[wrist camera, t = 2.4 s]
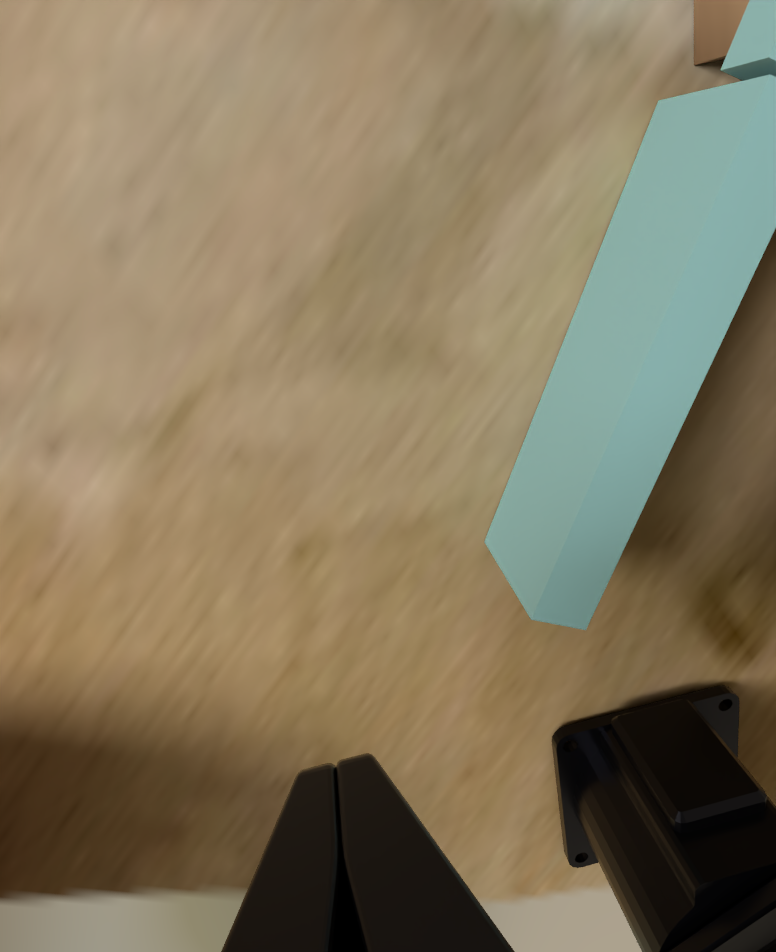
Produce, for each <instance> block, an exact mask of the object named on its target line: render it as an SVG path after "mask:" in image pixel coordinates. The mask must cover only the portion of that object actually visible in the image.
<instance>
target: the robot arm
mask: <svg viewBox="0 0 776 952" xmlns="http://www.w3.org/2000/svg"><path fill="white" fill-rule="evenodd" d="M738 727H739V698H738V696H737V695H736V694H735V693H734V692H733V691H732V690H731V689H730V688H729V687H728V686H724V685H722V686H716V687H712V688H709V689H705V690H701V691H697V692H693V693H690V694H686V695H682V696H678V697H674V698H671V699H667V700H663V701H659V702H655V703H651V704H648V705H644V706H640V707H636V708H632V709H629V710H625V711H621V712H617V713H613V714H610V715H606V716H602V717H598V718H594V719H591V720H587V721H583V722H579V723H575V724H571V725H568V726H564V727H562V728H559V729H558V730H557V731H556V732H555V733H554V735H553V736H552V748H553V757H554V765H555V774H556V783H557V792H558V801H559V810H560V819H561V827H562V836H563V845H564V852H565V855H566V857H567V859H568V862H569V864H570V865H571V866H573V867H577V868H578V867H584V866H588V865H591V864H595V863H598V862H599V864H600V866H601V868H602V870H603V872H604V874H605V876H606V878H607V880H608V882H609V884H610V886H611V888H612V891H613V892H614V895H615V897H616V899H617V901H618V903H619V904H620V907H621V909H622V911H623V913H624V915H625V917H626V919H627V921H628V923H629V926H630V928H631V929H632V932H633V934H634V936H635V938H636V940H637V942H638V944H639V946H640V948H641V950H642V952H776V806H775V805H774V804H773V803H772V801H771V800H770V799H769V798H768V797H767V795H766V793H765V791H764V790H763V788H762V787H761V786H760V785H759V784H758V782H757V781H756V780H755V779H754V778H753V776H752V775H751V774H750V773H749V771H748V770H747V769H746V768H745V767H744V765H743V764H742V763H741V762H740V760H739V759H738V758H737V757H738ZM570 740H571V741H570ZM567 741H570V742H568V743H566V742H567ZM221 952H514V950H513V949H512V948H511V946H510V945H509V944H508V942H507V941H506V939H505V938H504V937H503V935H502V934H501V933H500V931H499V930H498V928H497V927H496V925H495V924H494V923H493V921H492V920H491V919H490V917H489V916H488V914H487V913H486V911H485V910H484V909H483V907H482V906H481V905H480V903H479V902H478V900H477V899H476V898H475V896H474V895H473V893H472V892H471V891H470V889H469V888H468V886H467V885H466V884H465V882H464V881H463V879H462V878H461V877H460V875H459V874H458V872H457V871H456V870H455V868H454V867H453V866H452V864H451V863H450V861H449V860H448V859H447V857H446V856H445V854H444V853H443V852H442V850H441V849H440V847H439V846H438V845H437V843H436V842H435V840H434V839H433V838H432V836H431V835H430V833H429V832H428V831H427V829H426V828H425V827H424V825H423V824H422V822H421V821H420V820H419V818H418V817H417V815H416V814H415V813H414V811H413V810H412V808H411V807H410V806H409V804H408V803H407V801H406V800H405V799H404V797H403V796H402V794H401V793H400V792H399V790H398V789H397V788H396V786H395V785H394V783H393V782H392V781H391V779H390V778H389V776H388V775H387V774H386V772H385V771H384V769H383V768H382V767H381V765H380V764H379V762H378V761H377V760H376V758H375V757H374V756H373V755H372V754H369V753H366V754H362V755H358V756H354V757H350V758H346V759H342V760H340V761H339V762H338V763H337V766H335V765H334V764H331V763H327V764H323V765H319V766H316V767H312V768H308V769H304V770H302V771H300V772H299V773H298V774H297V776H296V778H295V780H294V783H293V785H292V787H291V790H290V792H289V794H288V797H287V799H286V801H285V804H284V806H283V808H282V811H281V813H280V815H279V818H278V820H277V822H276V825H275V827H274V829H273V832H272V834H271V836H270V839H269V841H268V844H267V846H266V848H265V851H264V853H263V855H262V858H261V860H260V862H259V865H258V867H257V869H256V872H255V874H254V876H253V879H252V881H251V883H250V886H249V888H248V890H247V893H246V895H245V897H244V900H243V902H242V905H241V907H240V909H239V912H238V914H237V916H236V919H235V921H234V924H233V926H232V928H231V930H230V933H229V935H228V937H227V940H226V942H225V944H224V947H223V949H222V951H221Z"/></svg>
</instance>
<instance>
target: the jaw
mask: <svg viewBox="0 0 776 952" xmlns="http://www.w3.org/2000/svg"><path fill="white" fill-rule="evenodd" d="M721 71H723V72H725V73H727V74H729V75H732V76H734V77H736V78H738V79H741V80H743V81H740V82H736V83H731V84H727V85H723V86H719V87H714V88H710V89H706V90H702V91H697V92H693V93H689V94H685V95H680V96H676V97H672V98H668V99H663V100H659V101H658V103H657V106H656V108H655V111H654V113H653V116H652V118H651V121H650V123H649V126H648V128H647V131H646V134H645V136H644V139H643V141H642V144H641V146H640V149H639V151H638V154H637V156H636V159H635V161H634V164H633V166H632V169H631V172H630V174H629V177H628V179H627V182H626V184H625V187H624V189H623V192H622V194H621V197H620V199H619V202H618V204H617V207H616V210H615V212H614V215H613V217H612V220H611V222H610V225H609V227H608V230H607V232H606V235H605V237H604V240H603V242H602V245H601V248H600V250H599V253H598V255H597V258H596V260H595V263H594V265H593V268H592V270H591V273H590V275H589V278H588V280H587V283H586V286H585V288H584V291H583V293H582V296H581V298H580V301H579V303H578V306H577V308H576V311H575V313H574V316H573V318H572V321H571V323H570V326H569V329H568V331H567V334H566V336H565V339H564V341H563V344H562V346H561V349H560V351H559V354H558V356H557V359H556V361H555V364H554V367H553V369H552V372H551V374H550V377H549V379H548V382H547V384H546V387H545V389H544V392H543V394H542V397H541V399H540V402H539V405H538V407H537V410H536V412H535V415H534V417H533V420H532V422H531V425H530V427H529V430H528V432H527V435H526V437H525V440H524V443H523V445H522V448H521V450H520V453H519V455H518V458H517V460H516V463H515V465H514V468H513V470H512V473H511V475H510V478H509V480H508V483H507V486H506V488H505V491H504V493H503V496H502V498H501V501H500V503H499V506H498V508H497V511H496V513H495V516H494V518H493V521H492V524H491V526H490V529H489V531H488V534H487V536H486V539H485V541H484V542H485V544H486V546H487V547H488V549H489V551H490V552H491V554H492V555H493V557H494V559H495V560H496V562H497V564H498V565H499V567H500V569H501V570H502V572H503V574H504V575H505V577H506V579H507V580H508V582H509V584H510V585H511V587H512V589H513V590H514V592H515V594H516V595H517V597H518V599H519V600H520V602H521V604H522V605H523V607H524V609H525V610H526V612H527V614H528V615H529V617H530V618H531V620H536V621H541V622H546V623H551V624H557V625H562V626H567V627H572V628H578V629H583V630H586V629H587V626H588V624H589V622H590V620H591V618H592V616H593V614H594V612H595V610H596V607H597V605H598V603H599V601H600V599H601V597H602V595H603V593H604V590H605V588H606V586H607V584H608V582H609V580H610V578H611V576H612V573H613V571H614V569H615V567H616V565H617V563H618V561H619V559H620V557H621V554H622V552H623V550H624V548H625V546H626V544H627V542H628V540H629V537H630V535H631V533H632V531H633V529H634V527H635V525H636V523H637V521H638V518H639V516H640V514H641V512H642V510H643V508H644V506H645V504H646V501H647V499H648V497H649V495H650V493H651V491H652V489H653V487H654V484H655V482H656V480H657V478H658V476H659V474H660V472H661V470H662V468H663V465H664V463H665V461H666V459H667V457H668V455H669V453H670V451H671V448H672V446H673V444H674V442H675V440H676V438H677V436H678V434H679V431H680V429H681V427H682V425H683V423H684V421H685V419H686V417H687V415H688V412H689V410H690V408H691V406H692V404H693V402H694V400H695V398H696V395H697V393H698V391H699V389H700V387H701V385H702V383H703V381H704V379H705V376H706V374H707V372H708V370H709V368H710V366H711V364H712V362H713V359H714V357H715V355H716V353H717V351H718V349H719V347H720V345H721V342H722V340H723V338H724V336H725V334H726V332H727V330H728V328H729V326H730V323H731V321H732V319H733V317H734V315H735V313H736V311H737V309H738V306H739V304H740V302H741V300H742V298H743V296H744V294H745V292H746V290H747V287H748V285H749V283H750V281H751V279H752V277H753V275H754V273H755V270H756V268H757V266H758V264H759V262H760V260H761V258H762V256H763V253H764V251H765V249H766V247H767V245H768V243H769V241H770V239H771V237H772V234H773V232H774V230H775V228H776V0H749V3H748V5H747V7H746V10H745V12H744V15H743V17H742V20H741V22H740V24H739V27H738V29H737V32H736V34H735V36H734V39H733V41H732V44H731V46H730V48H729V51H728V53H727V56H726V58H725V60H724V63H723V65H722V68H721Z"/></svg>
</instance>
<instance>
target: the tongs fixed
mask: <svg viewBox="0 0 776 952" xmlns="http://www.w3.org/2000/svg"><path fill="white" fill-rule="evenodd" d="M748 3H749V0H694V65H697V64H702V63H707V62H712V61H718V60H723V59H725V58H726V56H727V53H728V51H729V48H730V46H731V44H732V41H733V39H734V36H735V34H736V32H737V29H738V27H739V24H740V22H741V20H742V17H743V15H744V12H745V10H746V7H747V5H748Z"/></svg>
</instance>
